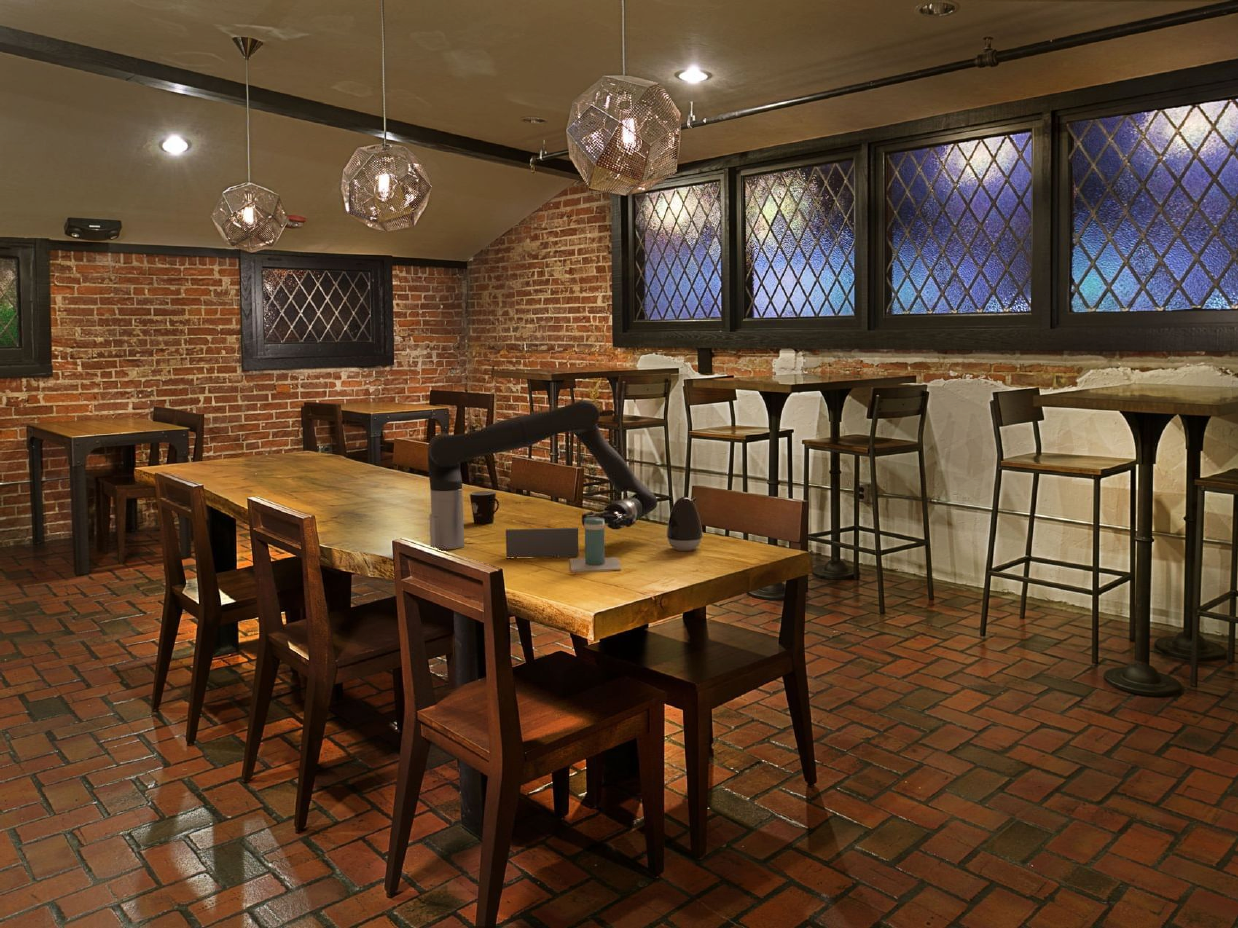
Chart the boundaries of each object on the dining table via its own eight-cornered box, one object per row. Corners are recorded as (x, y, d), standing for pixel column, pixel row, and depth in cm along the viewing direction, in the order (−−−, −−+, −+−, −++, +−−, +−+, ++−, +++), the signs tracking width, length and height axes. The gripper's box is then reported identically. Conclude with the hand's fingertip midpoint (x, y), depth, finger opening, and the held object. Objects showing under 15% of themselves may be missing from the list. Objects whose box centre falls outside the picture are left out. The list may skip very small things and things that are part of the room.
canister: (589, 566, 262) (589, 521, 261) (581, 562, 267) (581, 518, 266) (608, 564, 265) (607, 520, 263) (600, 560, 270) (599, 516, 268)
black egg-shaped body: (710, 548, 285) (709, 496, 283) (687, 554, 278) (687, 501, 276) (682, 543, 292) (681, 492, 290) (659, 549, 284) (659, 497, 282)
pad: (571, 572, 259) (571, 569, 259) (570, 560, 272) (570, 558, 272) (621, 570, 260) (621, 568, 260) (617, 559, 273) (617, 557, 273)
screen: (506, 558, 275) (505, 530, 274) (506, 557, 277) (505, 529, 276) (578, 556, 277) (578, 528, 276) (578, 555, 278) (577, 527, 277)
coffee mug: (468, 521, 331) (467, 491, 330) (493, 519, 334) (492, 490, 333) (475, 527, 321) (474, 497, 319) (501, 525, 324) (500, 495, 322)
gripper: (597, 499, 285) (574, 508, 270) (643, 502, 280) (623, 511, 265) (597, 525, 286) (574, 535, 271) (643, 528, 281) (623, 539, 266)
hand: (599, 523), depth 268 cm, fingers open, 8 cm apart
